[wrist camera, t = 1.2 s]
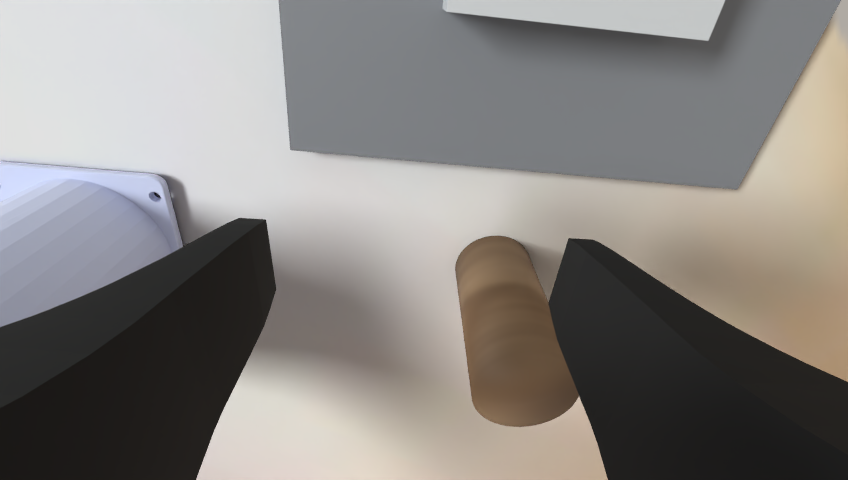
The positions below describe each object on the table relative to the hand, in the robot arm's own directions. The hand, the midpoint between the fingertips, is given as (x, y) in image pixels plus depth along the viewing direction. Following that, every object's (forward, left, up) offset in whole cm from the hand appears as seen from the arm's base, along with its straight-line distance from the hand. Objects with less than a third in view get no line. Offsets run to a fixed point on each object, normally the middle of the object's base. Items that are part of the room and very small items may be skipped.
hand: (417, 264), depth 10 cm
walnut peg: (-7, -5, -10) cm, 13 cm away
